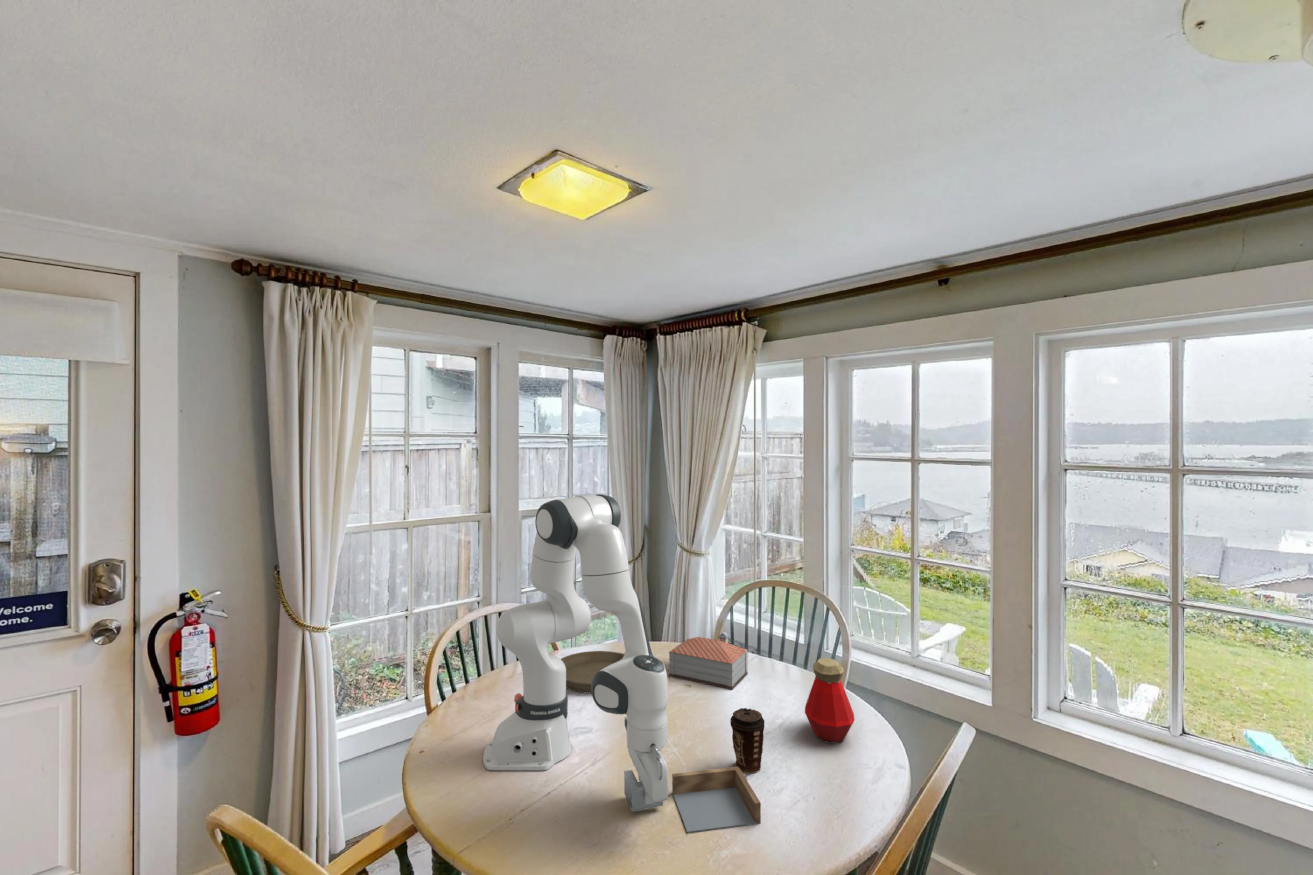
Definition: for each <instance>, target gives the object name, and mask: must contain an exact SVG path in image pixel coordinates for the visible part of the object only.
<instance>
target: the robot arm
mask: <svg viewBox="0 0 1313 875" xmlns="http://www.w3.org/2000/svg"><path fill="white" fill-rule="evenodd" d="M621 518H622V515H621V507H620V506H619V503H618V501H617V500H616V499H615V498H614V497H612V496H610V495H608V494H607V495H605V494H601V493H600V494H594V495H593V494H592V495H590V494H585V495H581V494H580V495H576V496H572V497H571V496H570V497H565V498H561V499H553V500H549V501H546V502H544V503H543V504H540V506H539V508H538V510H537V512H536V515H535V529H536V533H535V538H534V542H533V548H532V556H531V563H530V564H531V565H530V570H529V571H530V572H529V579H530V582H531V585H532V586H533V587H534V588H535V589H536V590H537V591H539V592H541V593H543V594H545V595H546V596H545V599H544V600H541V601H536V602H530V603H529V602H528V603H524V604H519V605H517V606H514V607H512V608H509V609H507V610H504V611H503V612H502V613H501V614H500V616H499V617H498V619H497V623H496V634H497V635H496V636H497V639H498V641H499V642H500V645H502V646H503V647H504V648H505V649H506V650H508V651H510V652H511V653H513V654H514V655H515V657H516V658H517V659H518V662H519V663H520V667H521V670H522V681H523V682H522V684H523V686H522V687H523V689H522V690H523V691H522V692H523V693H520V692H518V693H516V694H515V695H514V698H513V701H514V703H515V704H514V705H515V707H514V708H515V709H514V712H513V713H512V714H510V715H508V717H507V718H506V719H504V720H503V721H502V722H500V723H499V724H498V726H497V728H496V730H495V732H494V735H493V737H492V740H490V742H489V743H487V745H486V746H485V748H484V752H483V754H482V755H483V756H482V764H483V767H484V768H485V769H486V770H488V771H547V770H549V769H550V768H552V766H554V765H555V764H556V763H558V762H561V761H562V760H564V759H566V758H567V757H568V756H570V754H571V752H572V750H573V745H572V743H571V740H570V735H569V729H568V728H569V727H568V719H567V718H568V714H569V698H568V693H567V688H566V667H565V664H564V663H563V661H562V660H561V658H559V657H558V656H556V655H552V654H549V652H548V645H549V644H554V643H558V642H563V641H567V640H572V639H573V638H575V637H578V636H579V635H582V634H584V633H586V632H587V631H588V629H589V627H590V625H591V621H592V613H591V609H590V606H589V604H590V605H591V606H592V607H594V608H596V609H598V610H600V611H603V612H606V613H611V614H613V615H614V616H615V617H616V618H617V620H618V622H619V625H620V631H621V634H622V639H623V646H624V651H625V652H624V653H623V654H624V657H623V658H622V659H621V660H619V661H618V662H616V663H613V664H611V665H609V666H607V667H605V668H603V669H602V670H600V671H599V672H597V673H596V674H595V675H594V677H593V680H592V684H591V692H592V693H591V696H592V699H593V701H594V704H595V705H596V706H597V707H598V708H599V709H600V710H601V711H602V712H605V713H607V714H611V715H612V714H613V715H626V716H625V717H624V722H623V723H624V728H625V731H626V745H627V747H626V748H627V752H628V755H629V758H630V760H631V761H632V764H633V766H634V768H635V769H636V772H637V776H638V777H637V778H638V782H640V781H642V783H643V785H644V788H645V792H644V801H645V803H646V804H652V803H656V802H662V801H663V802H666V801H667V799H668V797H669V775H668V766H667V761H666V760H665V757H664V756H663V754H662V749H664V748H666V745H667V743H668V724H669V723H668V720H669V719H668V714H667V706H668V702H669V687H668V686H669V683H668V680H669V679H668V673H667V670H666V667H665V664H664V663H663V661H662V660H661V659H659V658H657V657H655V656H654V654H653V651H652V648H651V644H650V639H649V634H648V630H647V626H646V620H645V615H644V612H643V611H644V609H643V606H642V603H641V602H642V601H641V600H640V597H639V594H638V593H637V591H636V590H635V588H634V586H633V583H632V581H631V580H632V579H631V575H630V566H629V560H628V553H627V549H626V544H625V541H624V537H623V532H622V531H621V529H620V528H619V526H620V523H621ZM577 551H578V552H579V555H580V556H579V558H580V572H581V584H582V591H583V594H584V596H585V599H586V600H584V599H583V598H582V597H581V596H579V595H578V593H577V591H576V589H575V582H574V574H575V564H576V556H577V555H576V554H577ZM586 601H587V602H588V603H589V604H588V603H587V602H586ZM522 694H523V695H522Z"/></svg>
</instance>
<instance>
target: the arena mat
mask: <svg viewBox="0 0 1313 875" xmlns="http://www.w3.org/2000/svg"><path fill="white" fill-rule="evenodd" d="M671 794H672V796H673V798H674V801H675V804H676V807H677V809H678V812H679V814H680V817H681V819H682V823H683V825H684V827H685V828H684V829H685V830H686V833H687V834H690V833H691V834H692V833H699V832H706V831H713V830H714V831H715V830H722V829H729V828H736V827H737V828H739V827H745V826H751V825H752V826H753V825H760V824H761V822H757V823H755V821H754V820H753V818H752V816H751V814H750V813H749V811H748V809H747V807H746V805H745V804H744V802H743V800H742V798H741V797H740V795H739V793H738V791H737V790H736V788H735V787H734V788H725V789H717V790H708V791H700V792H691V793H683V794H674V795H673V792H672V791H671Z"/></svg>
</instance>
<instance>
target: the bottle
mask: <svg viewBox="0 0 1313 875" xmlns="http://www.w3.org/2000/svg"><path fill="white" fill-rule="evenodd" d="M812 669H813V673H814V675H815V677H814V681H813V682H812V685H811V689H810V691H809V694H808V698H807V699H806V700H807V701H806V703H805V706H804V714H805V715H806V718H807V720H808V722H809V725H810V727H811V730H812V731H813V734H814V735H815V736H816V738H818V739H819V740H821V741H822V742H826V743H830V744H839V743H842V742H843V741H844V740H846V737H847V735H848V733H849V732H850V729H851V728H852V726H853V724H854V722H855V713H854V711H853V708H852V706H851V703H850V701H849V697H848V695H847V693H846V690H845V689H846V688H845V687H844V685H843V681H842V680H841V679H842V677H843V674H844V670H845V669H844V668H843V667H842V665H841V664H840V663H839V662H838V661H837V660H836V659H834V658H827V657H822V658H821V657H820V658H819V659H818V660H816V661H815V662H814V663H813V664H812Z"/></svg>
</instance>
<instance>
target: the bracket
mask: <svg viewBox="0 0 1313 875" xmlns="http://www.w3.org/2000/svg"><path fill="white" fill-rule="evenodd" d="M623 772H624V774H623V775H624V776H623V780H624V781H623V783H624V785H623V787H624V789H623V791H624V792H623V793H624V796H625V798H626V801H627V804H628V805H629V807H630V810H631V812H639V811H643V810H647V809H653V808H658V807H663V806H664V801H662V802H656V803H652V804H646V803H645V801H644V792H645V788H644V785H643V783H642V781H640V782H639V780H638V779H637V778H636V776H635V773H634V771H633V769H629V770H624V771H623Z"/></svg>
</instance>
